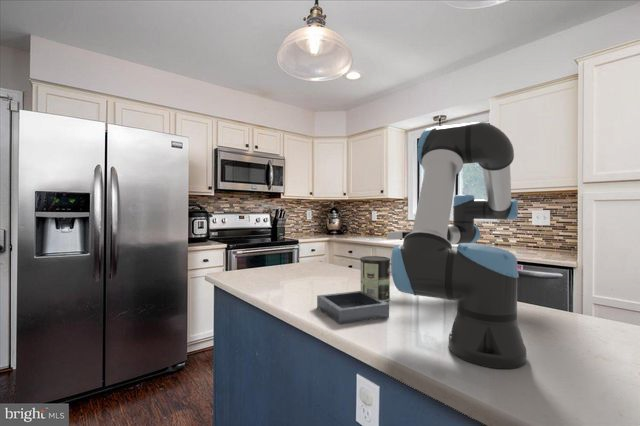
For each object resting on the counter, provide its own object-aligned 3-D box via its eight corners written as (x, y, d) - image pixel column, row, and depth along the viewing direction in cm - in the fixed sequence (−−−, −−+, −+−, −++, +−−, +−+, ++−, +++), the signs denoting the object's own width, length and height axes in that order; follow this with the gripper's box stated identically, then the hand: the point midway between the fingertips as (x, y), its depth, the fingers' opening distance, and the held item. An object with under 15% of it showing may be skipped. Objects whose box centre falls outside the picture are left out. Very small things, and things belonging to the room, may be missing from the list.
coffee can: (386, 294, 117) (387, 255, 117) (392, 302, 107) (393, 260, 107) (358, 294, 118) (358, 255, 117) (361, 302, 107) (361, 260, 107)
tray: (389, 317, 93) (389, 304, 93) (339, 324, 87) (339, 310, 87) (361, 301, 108) (361, 290, 108) (317, 307, 102) (317, 295, 102)
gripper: (470, 249, 112) (421, 252, 104) (422, 241, 136) (379, 244, 127) (470, 227, 112) (422, 229, 104) (422, 223, 135) (379, 225, 127)
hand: (398, 237), depth 116 cm, fingers open, 13 cm apart
